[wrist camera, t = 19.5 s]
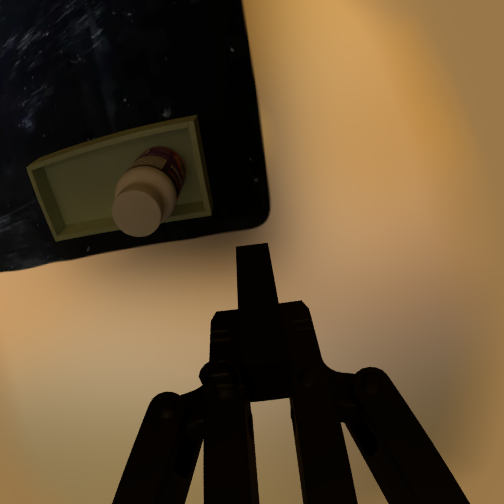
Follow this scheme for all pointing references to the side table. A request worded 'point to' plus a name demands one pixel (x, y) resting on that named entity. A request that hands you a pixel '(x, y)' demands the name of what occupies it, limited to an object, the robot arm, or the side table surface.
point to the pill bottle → (148, 191)
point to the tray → (115, 177)
